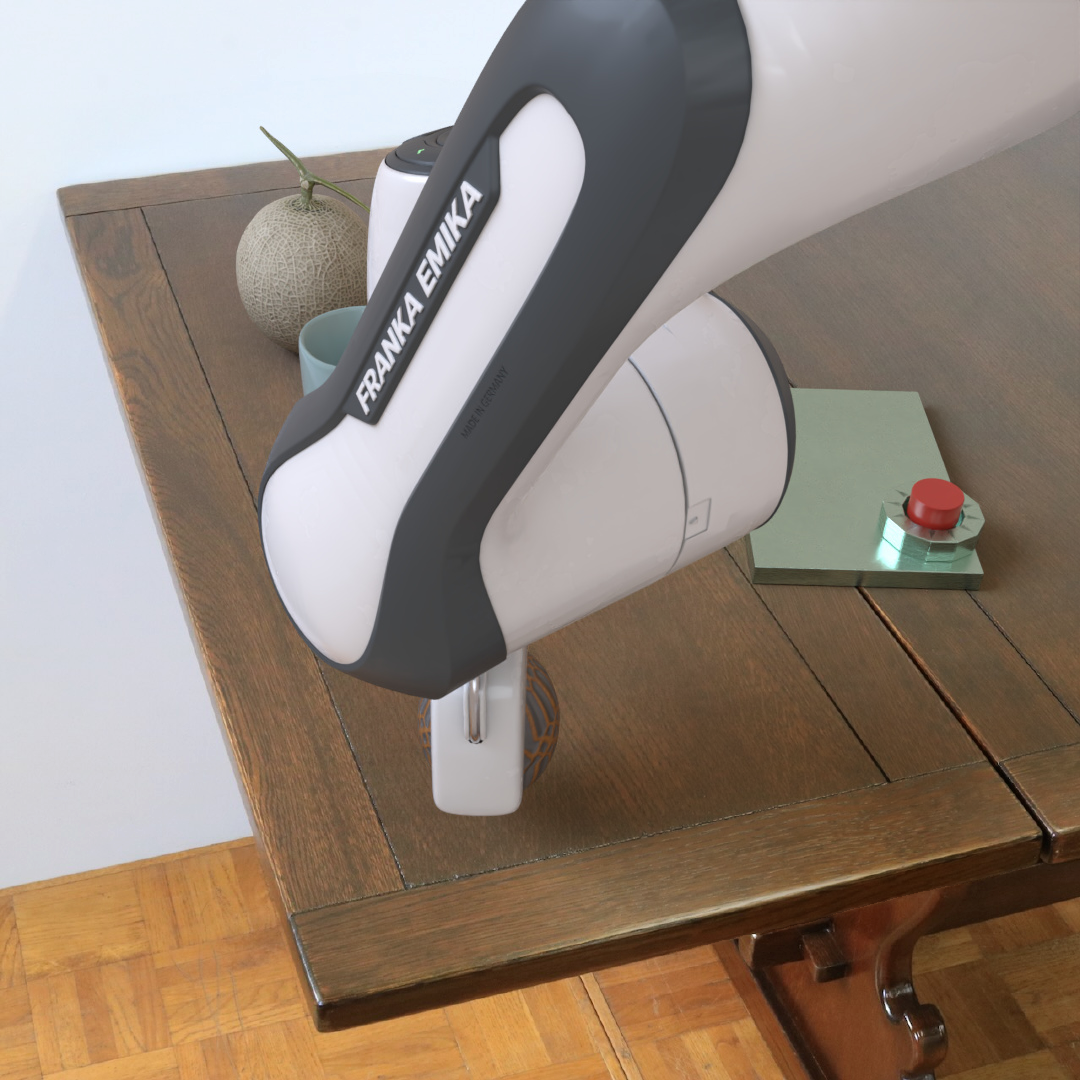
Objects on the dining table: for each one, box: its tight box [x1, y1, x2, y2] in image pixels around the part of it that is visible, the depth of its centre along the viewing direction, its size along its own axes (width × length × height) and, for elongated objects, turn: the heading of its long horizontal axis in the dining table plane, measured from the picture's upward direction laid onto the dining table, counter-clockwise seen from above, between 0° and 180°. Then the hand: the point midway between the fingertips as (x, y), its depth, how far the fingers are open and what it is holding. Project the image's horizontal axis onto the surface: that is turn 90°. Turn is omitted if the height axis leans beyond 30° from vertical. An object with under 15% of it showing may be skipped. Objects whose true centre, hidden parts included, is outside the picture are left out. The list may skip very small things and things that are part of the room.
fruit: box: [235, 125, 371, 354], centre depth 97 cm, size 10×12×15 cm
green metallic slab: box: [744, 387, 986, 591], centre depth 88 cm, size 20×14×3 cm
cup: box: [298, 306, 366, 397], centre depth 87 cm, size 8×8×10 cm
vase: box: [417, 650, 561, 791], centre depth 64 cm, size 7×7×9 cm
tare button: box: [907, 478, 965, 530], centre depth 82 cm, size 3×3×2 cm
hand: (489, 724), depth 65 cm, fingers closed on vase, 7 cm apart
